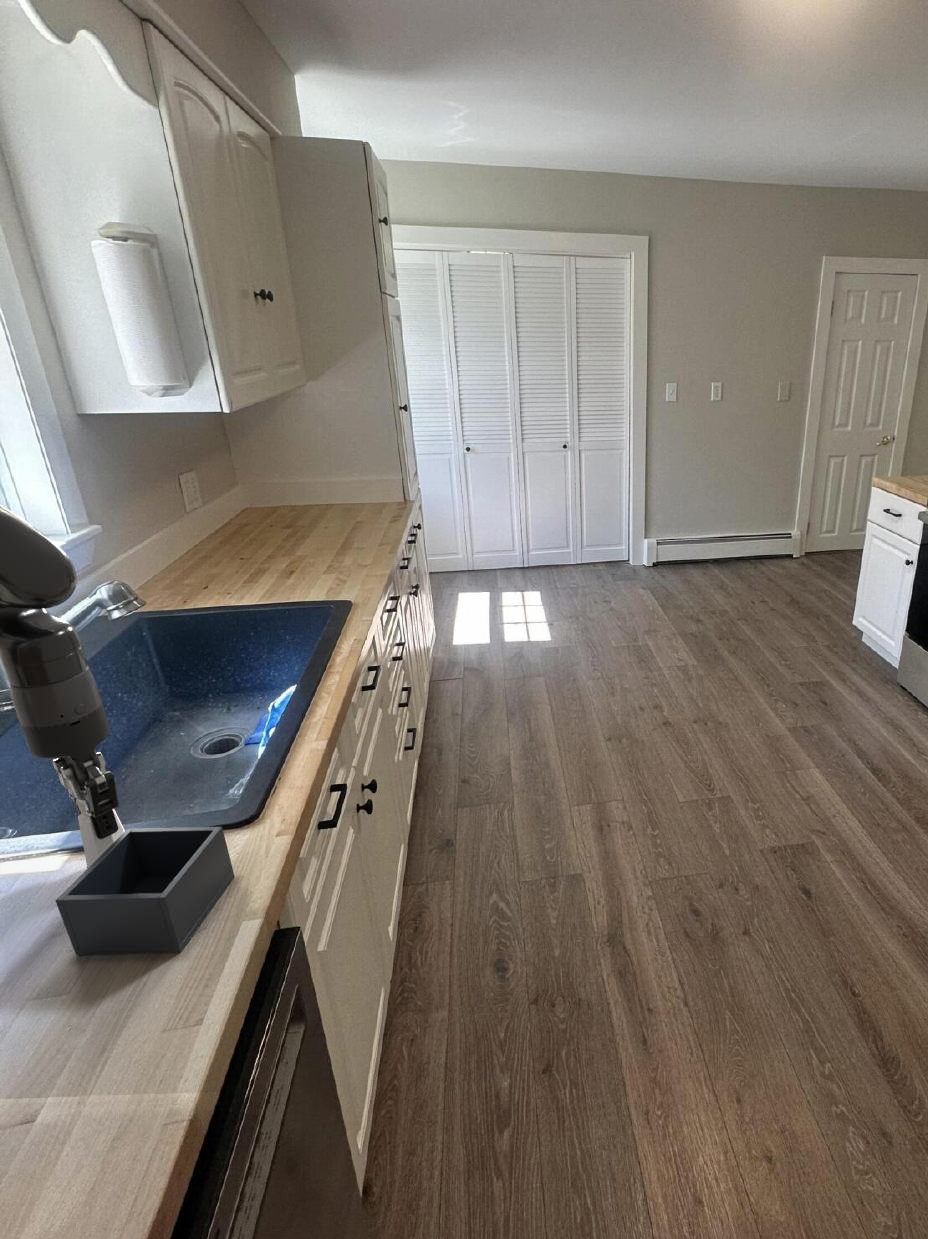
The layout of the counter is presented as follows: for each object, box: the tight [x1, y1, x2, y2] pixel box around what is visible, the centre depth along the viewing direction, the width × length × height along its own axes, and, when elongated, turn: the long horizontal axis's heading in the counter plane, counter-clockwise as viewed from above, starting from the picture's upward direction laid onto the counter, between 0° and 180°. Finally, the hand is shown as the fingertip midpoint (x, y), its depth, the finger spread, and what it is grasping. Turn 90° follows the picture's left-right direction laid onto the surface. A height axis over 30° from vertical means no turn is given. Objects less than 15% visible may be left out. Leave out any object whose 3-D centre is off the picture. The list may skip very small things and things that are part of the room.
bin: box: [55, 826, 236, 956], centre depth 77 cm, size 11×11×8 cm
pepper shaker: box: [75, 799, 126, 870], centre depth 83 cm, size 5×5×11 cm
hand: (100, 827), depth 83 cm, fingers closed on pepper shaker, 4 cm apart
